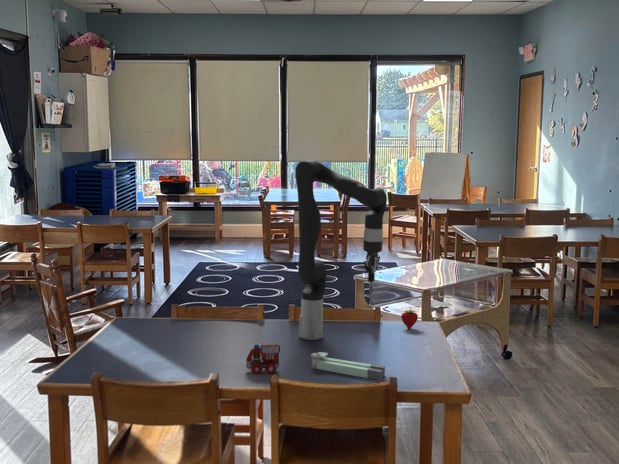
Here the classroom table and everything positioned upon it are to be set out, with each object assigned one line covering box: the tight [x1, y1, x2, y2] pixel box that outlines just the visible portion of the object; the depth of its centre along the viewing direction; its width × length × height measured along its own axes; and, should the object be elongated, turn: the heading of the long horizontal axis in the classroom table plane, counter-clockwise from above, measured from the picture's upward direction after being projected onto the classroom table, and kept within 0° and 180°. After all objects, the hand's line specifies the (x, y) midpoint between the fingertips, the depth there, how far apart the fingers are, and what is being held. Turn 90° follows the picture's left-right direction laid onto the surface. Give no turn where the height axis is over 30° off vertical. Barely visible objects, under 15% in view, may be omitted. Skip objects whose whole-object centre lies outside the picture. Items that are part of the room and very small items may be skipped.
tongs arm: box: [310, 351, 386, 377], centre depth 261 cm, size 28×5×5 cm, turn 68°
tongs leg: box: [311, 357, 383, 381], centre depth 260 cm, size 27×3×4 cm, turn 66°
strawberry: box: [401, 306, 419, 330], centre depth 314 cm, size 6×8×10 cm
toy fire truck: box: [245, 344, 281, 375], centre depth 260 cm, size 7×12×10 cm, turn 94°
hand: (371, 281), depth 282 cm, fingers closed
